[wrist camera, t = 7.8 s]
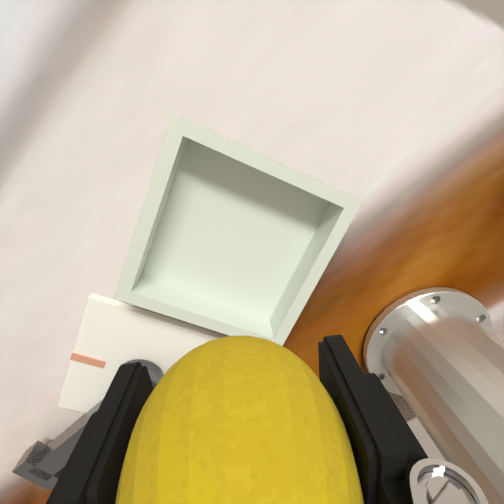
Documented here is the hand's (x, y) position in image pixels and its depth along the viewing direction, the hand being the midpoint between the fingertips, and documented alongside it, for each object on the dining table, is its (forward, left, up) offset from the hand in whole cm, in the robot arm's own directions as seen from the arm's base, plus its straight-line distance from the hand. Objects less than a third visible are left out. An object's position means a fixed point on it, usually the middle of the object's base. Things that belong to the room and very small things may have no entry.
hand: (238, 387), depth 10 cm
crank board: (+3, +16, -16) cm, 23 cm away
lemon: (0, 0, -2) cm, 2 cm away
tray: (0, 0, -16) cm, 16 cm away
